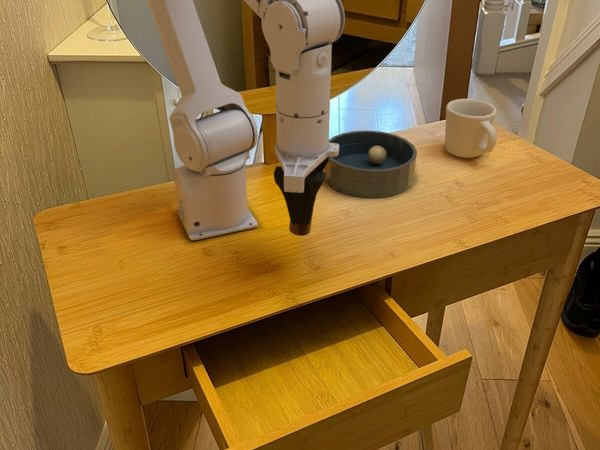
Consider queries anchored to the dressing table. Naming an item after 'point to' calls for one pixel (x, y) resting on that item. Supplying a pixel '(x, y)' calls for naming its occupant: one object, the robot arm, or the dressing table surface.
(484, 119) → the cup
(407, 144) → the bowl
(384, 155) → the bead
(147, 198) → the dressing table surface
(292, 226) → the stick
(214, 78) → the robot arm
